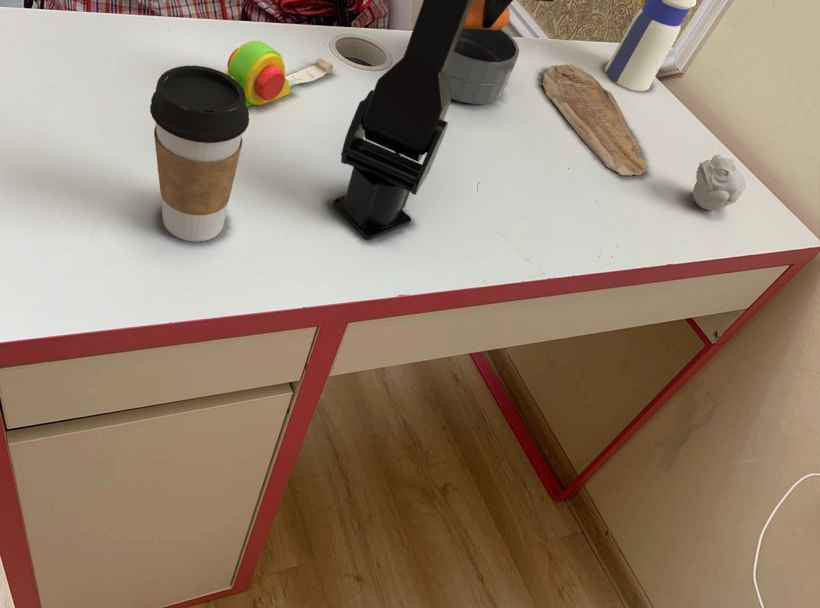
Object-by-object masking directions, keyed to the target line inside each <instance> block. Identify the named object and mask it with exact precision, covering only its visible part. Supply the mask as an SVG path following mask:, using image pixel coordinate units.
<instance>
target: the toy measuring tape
mask: <svg viewBox="0 0 820 608" xmlns="http://www.w3.org/2000/svg"><path fill="white" fill-rule="evenodd" d="M226 67H227V70H226V71H222V72H223V73H225V74H227V75H229V76H230V77H232V78H233V79H234V80H236V81H237V82H238V83H239V84H240V85H241V87H242V88H243V90H244V91H245V95H246V105H247V107H251V106H253V105H256V106H260V105H261V106H262V105H264V104H267V103H270V102H272V101H276V100H278V99H281V98H283V97H286V96H288V95H290V93H291V90H292V89H291V87H292V86H294V85H298V84H305V83H306V84H308V83H310V82H314V81H316V80H318V79H320V78H322V77H325V76H326V74H327V75H329V74H330V73H331V72H332V71H333V69H334V64H333V63H332V62H331V61H329V60H327V59H325V57H323V56H320V57H318V58H317V59H316V60H315V64H314V65H312V66H307V67H305V68H303V69H300V70H299V71H297V72H293V73H291V74H288V75H286V66H285V62H284V59H283V56H282V55H281V54H280V52H278V51H277V50H276V49H274V48H273V47H271V46H270V45H268V44H267V43H265V42H263V41H261V40H251V41H250V40H249V41H247V42H245V43H243V44H242V45H240V46H239V47H237V48H236V49H234V50H233V52H232V53H231V54H230V56H229V58H228V61H227V66H226Z"/></svg>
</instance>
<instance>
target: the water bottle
mask: <svg viewBox="0 0 820 608" xmlns="http://www.w3.org/2000/svg"><path fill="white" fill-rule="evenodd" d="M641 1H642V7H640V8H639V10H638V11H637V12H636V13H635V15H634V16H633V18H632V20H631V21H630V24H629V25H628V28H627V29H626V31H625V33H624V34H623V37H622V39H620V41H619V44H618V45H617V46H616V47H617V48H616V49H615V50H614V53H613V54H612V55H611V58H610V59H609V60H608V62H607V64H606V66H605V68H604V72H605V74H606V76H607V77H608V78H609V79H610V80H611V81H613V82H614V83H615V84H617V85H619V86H621V87H623V88H626V89H628V90H631V91H635V92H646V91H648V90H649V89H650V88H651V86H652V84H653V82H654V80H655V78H656V76H657V75H658V72H659V70H660V69H661V67H662V65H663V63H664V61H665V59H666V57H667V56H668V54H669V52H670V50H671V49H672V47H673V45H674V43H675V41H676V40H677V38H678V36H679V34H680V31H681V27H682V23H683V21H684V20H685V18H686V16H687V15H688V13H689V12H690V9H691V8H694V7H695V6H696V5H697V0H641Z"/></svg>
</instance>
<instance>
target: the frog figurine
mask: <svg viewBox="0 0 820 608" xmlns="http://www.w3.org/2000/svg"><path fill="white" fill-rule="evenodd" d="M695 179H696V182H695V184H694V186H693V190H692V194H693V195H692V196H693V200H694V201H695V203H696V204H697V205H698V206H699V207H700V208H702V209H704V210H707V211H718V210H722V209H724V208H726V207H728V205H732V204H734V203H736V202H737V201H738V200H739V199H740V197H741V196H742V195H743V191H744V190H745V189H746V188H747V183H746V180H745V178H744V176H743V175H742V173H741V172H740V171H739V169H738V168H737V167H736V164H735V163H734V160H733V159H730V158H726V157H724V156H723V155H722V154H715V155H714V156H712V157H711V159H706V160H704V161H703V162H699V164H698V167H697V170H696V176H695Z"/></svg>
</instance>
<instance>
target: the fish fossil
mask: <svg viewBox="0 0 820 608" xmlns="http://www.w3.org/2000/svg"><path fill="white" fill-rule="evenodd" d="M541 86H542V87H543V90H544V93H545V94H546V96H547V97H548V99H550V100H551V101H552V102H553V103H554V105H555V106H556V107H557V109H558V110H559V111H560V112H561V114H562V116H563V117H564V118H565V119H566V121H567V122H568V124H570V126H571V128H572V129H573V130H574V131H575V132H576V134H578V136H579V137H580V138H581V139H582V140H583V142H584V143H585V144H586V145H587V147H588V148H589V149H590V150H591V151H592V152H593V153H594V154H595V156H596V157H597V158H598V159H599V160H600V161H601V162H602V164H603V165H605V167H606V168H608V169H611V170H612V171H614V172H616V173H617V174H619V176H629V177H630V176H633V175H634V176H641V175H642V174H643V175H644V174H645V172H646V169H647V164H646V161H645V159H644V158H643V156H642V153H641V152H640V149H639V145H638V144H637V140H636V139H635V137H634V135H633V133H632V131H631V129H630V128H629V124H628V122H627V121H626V119H625V117H624V113H623V112H622V109H621V108H620V106H619V104H618V101H617V100H616V98H615V97H614V95H613V94H612V92H611V91H609V90H606V89H605V88H604V87H603V85H601V83H600V82H599V81H598V80H597V79H596V78H595V77H594V76H593V75H591V74H590V73H588V72H587V71H586V70H584V69H583V68H581V67H578V66H576V65H574V64H571V63H566V64H556V65H553V66H550V67H549V68H548V69H547V70H546V71H544V72H543V77H542V83H541Z"/></svg>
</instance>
